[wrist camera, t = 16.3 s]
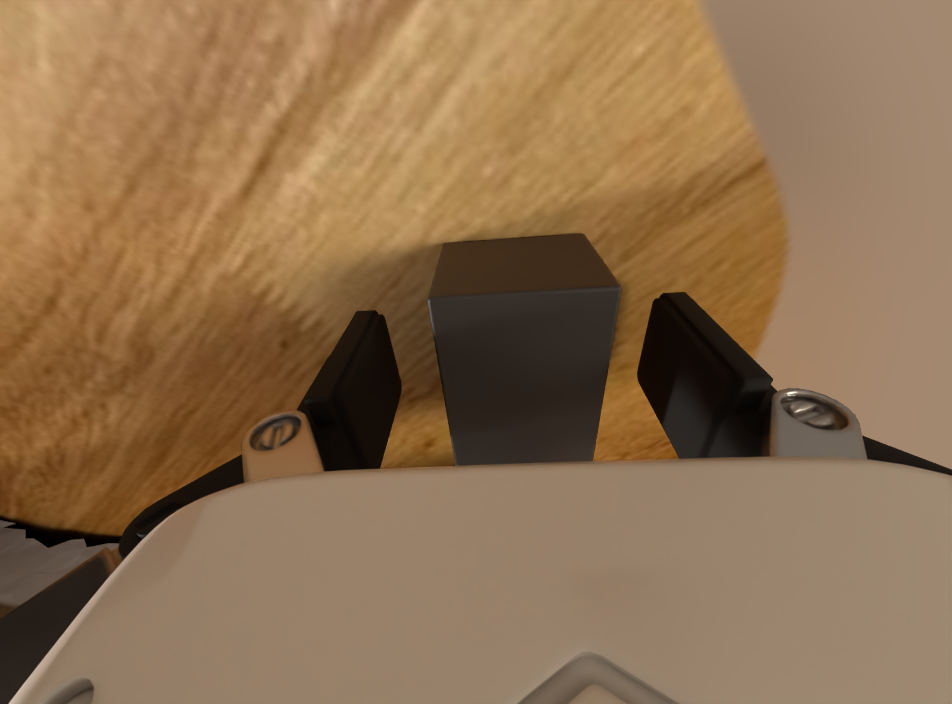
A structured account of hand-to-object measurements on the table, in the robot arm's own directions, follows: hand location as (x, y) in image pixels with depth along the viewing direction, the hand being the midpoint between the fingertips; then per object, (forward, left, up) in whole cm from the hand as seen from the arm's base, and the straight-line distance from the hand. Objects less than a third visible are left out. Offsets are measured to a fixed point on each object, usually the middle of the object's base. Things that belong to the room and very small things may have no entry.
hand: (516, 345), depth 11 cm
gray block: (0, 0, -1) cm, 1 cm away
